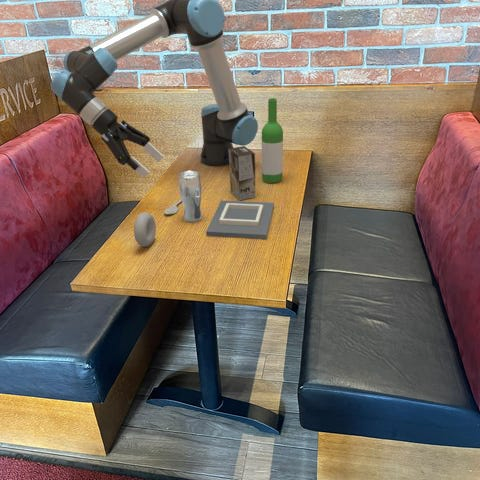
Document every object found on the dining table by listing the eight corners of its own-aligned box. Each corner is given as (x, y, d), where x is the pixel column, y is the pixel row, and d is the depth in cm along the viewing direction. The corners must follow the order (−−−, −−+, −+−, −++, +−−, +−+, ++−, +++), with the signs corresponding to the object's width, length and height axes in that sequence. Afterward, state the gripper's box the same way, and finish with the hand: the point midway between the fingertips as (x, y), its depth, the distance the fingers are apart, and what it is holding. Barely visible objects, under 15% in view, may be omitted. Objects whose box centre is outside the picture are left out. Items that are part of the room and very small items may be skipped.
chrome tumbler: (200, 223, 142) (196, 179, 134) (179, 222, 143) (174, 178, 136) (206, 214, 148) (203, 170, 140) (186, 212, 149) (181, 169, 142)
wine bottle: (279, 185, 167) (280, 102, 152) (259, 182, 169) (258, 101, 154) (284, 177, 173) (286, 97, 158) (265, 175, 175) (265, 96, 160)
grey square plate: (221, 204, 154) (220, 196, 152) (273, 206, 151) (273, 198, 149) (206, 235, 135) (205, 227, 134) (266, 239, 132) (266, 230, 131)
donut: (148, 235, 136) (144, 206, 131) (159, 236, 135) (155, 206, 130) (134, 253, 128) (129, 221, 123) (146, 254, 127) (141, 222, 122)
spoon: (161, 217, 148) (160, 212, 147) (185, 192, 165) (185, 188, 164) (172, 218, 147) (172, 214, 146) (196, 193, 164) (196, 189, 163)
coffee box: (256, 197, 158) (255, 153, 150) (239, 201, 156) (238, 156, 148) (245, 188, 165) (244, 145, 157) (229, 191, 163) (227, 148, 155)
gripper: (110, 115, 146) (159, 161, 151) (72, 138, 125) (132, 190, 130) (123, 98, 142) (173, 146, 148) (87, 119, 121) (147, 174, 126)
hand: (154, 167), depth 139 cm, fingers open, 13 cm apart
